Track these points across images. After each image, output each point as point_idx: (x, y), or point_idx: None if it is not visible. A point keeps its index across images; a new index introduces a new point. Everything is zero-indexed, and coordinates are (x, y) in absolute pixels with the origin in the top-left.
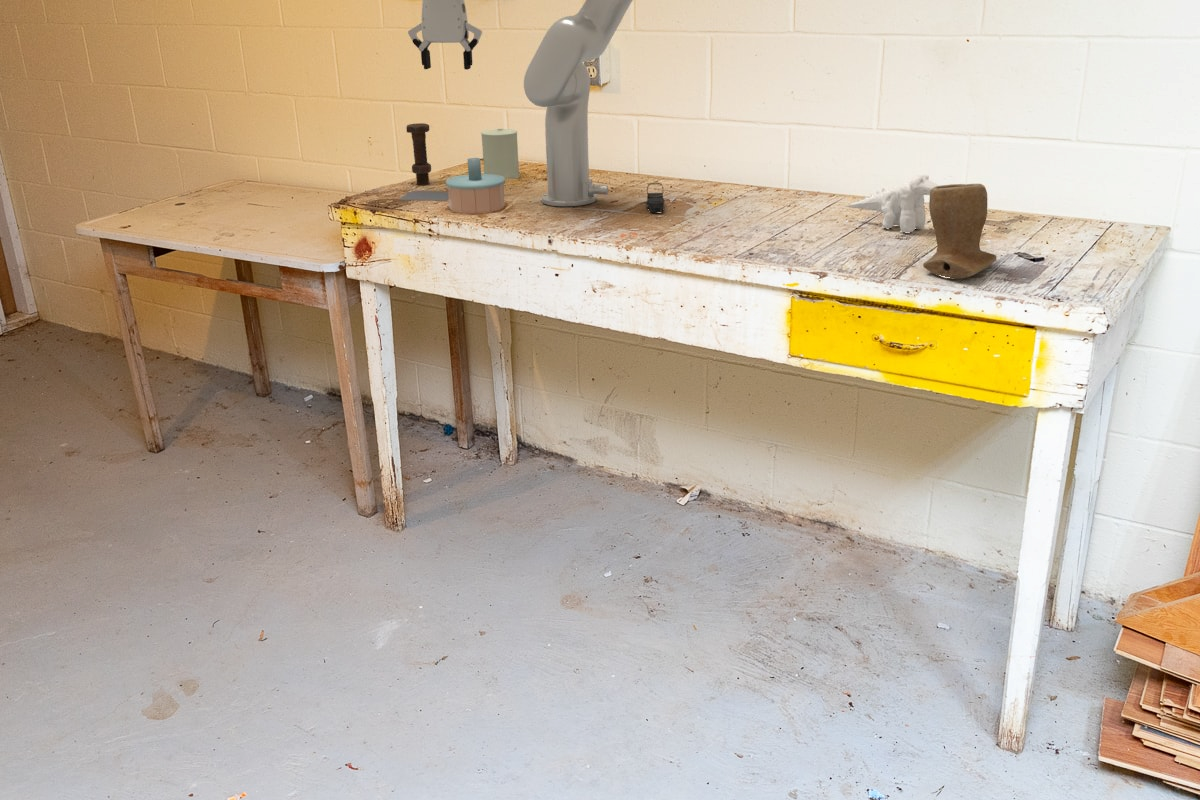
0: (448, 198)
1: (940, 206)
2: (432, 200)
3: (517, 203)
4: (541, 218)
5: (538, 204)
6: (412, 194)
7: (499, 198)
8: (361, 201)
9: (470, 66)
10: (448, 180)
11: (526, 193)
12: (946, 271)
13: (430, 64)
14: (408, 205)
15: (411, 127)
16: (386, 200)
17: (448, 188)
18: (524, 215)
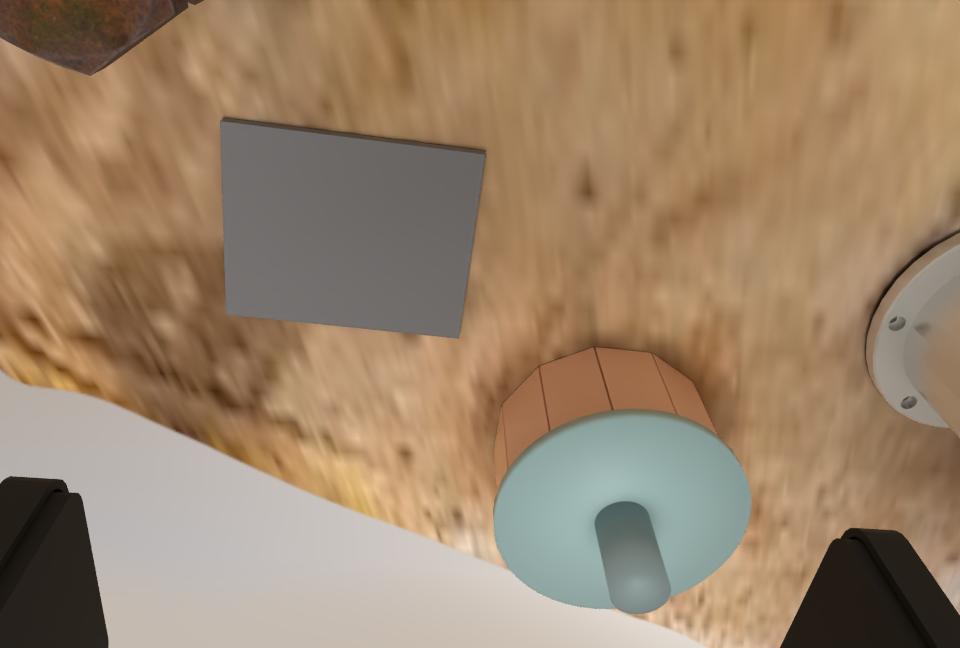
0: (496, 481)
1: None
2: (392, 331)
3: (761, 347)
4: (824, 543)
5: (845, 366)
6: (256, 210)
7: None
8: (42, 279)
9: (902, 549)
10: (505, 533)
11: (821, 156)
12: None
13: (55, 543)
14: (298, 359)
15: (35, 50)
16: (156, 266)
17: None
18: (771, 509)
